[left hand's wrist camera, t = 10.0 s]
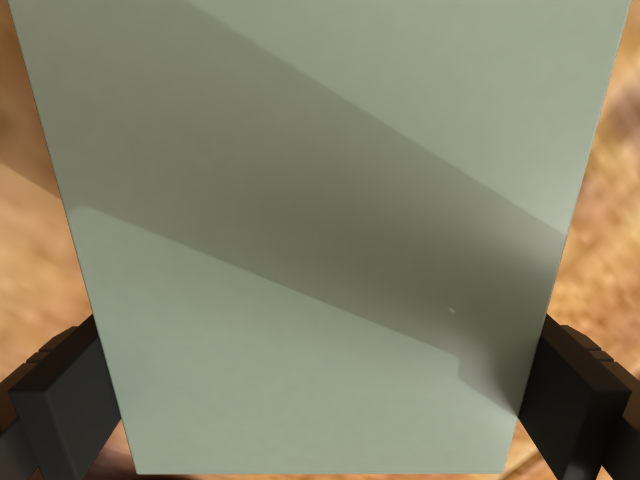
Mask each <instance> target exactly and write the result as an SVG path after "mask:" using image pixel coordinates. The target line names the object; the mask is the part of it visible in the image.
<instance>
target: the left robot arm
mask: <svg viewBox="0 0 640 480" xmlns="http://www.w3.org/2000/svg"><path fill="white" fill-rule="evenodd" d="M120 419H121V415H120V411H119V408H118V404H117V400H116V397H115V393H114V389H113V386H112V382H111V378H110V375H109V371H108V367H107V364H106V360H105V356H104V353H103V349H102V346H101V342H100V338H99V335H98V331H97V327H96V324H95V320H94V316H93V314H92V315H91V316H89V317H88V318H87V319H86V320H85V321H84V322H83V323H82V324H81V325H80V326H73V327H71V328H69V329H67V330H65V331H64V332H62V333H60V334H58V335H56V336H55V337H53V338H52V339H51V340H49V341H48V342H47V343H46V344H45V345H44V346H43V347H41V348H40V349H39V351H38V352H36V353H34V354H33V355H32V356H31V357H30V358H29V359H27V360H26V363H23V364H22V365H20V366H19V367H18V368H17V369H16V370H15V371H14V372H12V373H11V374H10V375H9V376H8V377H7V378H5V379H4V380H3V381H2V382H1V383H0V480H28V479H29V478H30V476H31V475H32V474H33V473H34V471H35V470H36V469H37V467H39V470H40V472H41V474H42V477H43V479H44V480H82V479H83V477H84V476H85V474H86V473H87V471H88V470H89V468H90V466H91V465H92V463H93V462H94V460H95V459H96V457H97V456H98V454H99V452H100V451H101V449H102V448H103V446H104V445H105V443H106V441H107V440H108V438H109V437H110V435H111V434H112V432H113V430H114V429H115V427H116V426H117V424H118V423H119V421H120ZM518 419H519V420H520V422H521V423H522V425H523V426H524V428H525V429H526V431H527V433H528V434H529V436H530V437H531V439H532V440H533V442H534V444H535V445H536V447H537V448H538V450H539V451H540V453H541V455H542V456H543V458H544V459H545V461H546V462H547V464H548V466H549V467H550V469H551V470H552V472H553V473H554V475H555V477H556V478H557V480H596V478H597V476H598V473H599V471H600V468H601V466H603V467H604V469H605V470H606V471H607V472H608V474H609V475H610V476H611V477H612V479H613V480H640V381H639V380H637V379H636V378H635V377H634V376H633V375H632V374H630V373H629V372H628V371H627V370H626V369H625V368H623V367H622V366H621V365H620V364H619V363H618V362H614V359H613V358H612V357H611V356H609V355H608V354H607V353H606V352H605V351H602V350H601V348H600V347H599V346H598V345H597V344H595V343H594V342H593V341H592V340H591V339H590V338H588V337H587V336H586V335H584V334H582V333H580V332H579V331H577V330H575V329H573V328H571V327H569V326H568V325H559V324H558V323H557V322H556V321H555V320H553V319H552V318H551V317H550V316H549V315H548V314H547V313H546V317H545V320H544V324H543V328H542V331H541V335H540V339H539V342H538V346H537V350H536V353H535V357H534V361H533V365H532V368H531V372H530V376H529V379H528V383H527V387H526V390H525V394H524V398H523V401H522V405H521V409H520V412H519V416H518Z"/></svg>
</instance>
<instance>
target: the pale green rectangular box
mask: <svg viewBox="0 0 640 480" xmlns="http://www.w3.org/2000/svg"><path fill="white" fill-rule="evenodd" d="M7 1H8V5H9V8H10V12H11V16H12V19H13V23H14V27H15V30H16V34H17V38H18V41H19V45H20V49H21V52H22V56H23V60H24V63H25V67H26V71H27V74H28V78H29V82H30V85H31V89H32V93H33V96H34V100H35V104H36V107H37V111H38V115H39V118H40V122H41V126H42V129H43V133H44V137H45V140H46V144H47V148H48V151H49V155H50V159H51V162H52V166H53V170H54V173H55V177H56V181H57V184H58V188H59V192H60V195H61V199H62V203H63V206H64V210H65V214H66V217H67V221H68V225H69V228H70V232H71V236H72V239H73V243H74V247H75V250H76V254H77V258H78V261H79V265H80V269H81V272H82V276H83V280H84V283H85V287H86V291H87V294H88V298H89V302H90V305H91V309H92V313H93V316H94V320H95V324H96V327H97V331H98V335H99V338H100V342H101V346H102V349H103V353H104V356H105V360H106V364H107V367H108V371H109V375H110V378H111V382H112V386H113V389H114V393H115V397H116V400H117V404H118V408H119V411H120V415H121V419H122V422H123V426H124V430H125V433H126V437H127V441H128V444H129V448H130V452H131V455H132V459H133V463H134V466H135V470H136V473H137V474H501V473H503V471H504V468H505V464H506V460H507V457H508V453H509V449H510V446H511V442H512V438H513V435H514V431H515V427H516V424H517V420H518V416H519V412H520V409H521V405H522V401H523V398H524V394H525V390H526V387H527V383H528V379H529V376H530V372H531V368H532V365H533V361H534V357H535V353H536V350H537V346H538V342H539V339H540V335H541V331H542V328H543V324H544V320H545V317H546V313H547V309H548V306H549V302H550V298H551V294H552V291H553V287H554V283H555V280H556V276H557V272H558V269H559V265H560V261H561V258H562V254H563V250H564V247H565V243H566V239H567V235H568V232H569V228H570V224H571V221H572V217H573V213H574V210H575V206H576V202H577V199H578V195H579V191H580V188H581V184H582V180H583V176H584V173H585V169H586V165H587V162H588V158H589V154H590V151H591V147H592V143H593V140H594V136H595V132H596V129H597V125H598V121H599V117H600V114H601V110H602V106H603V103H604V99H605V95H606V92H607V88H608V84H609V81H610V77H611V73H612V70H613V66H614V62H615V58H616V55H617V51H618V47H619V44H620V40H621V36H622V33H623V29H624V25H625V22H626V18H627V14H628V11H629V7H630V3H631V0H7Z"/></svg>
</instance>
